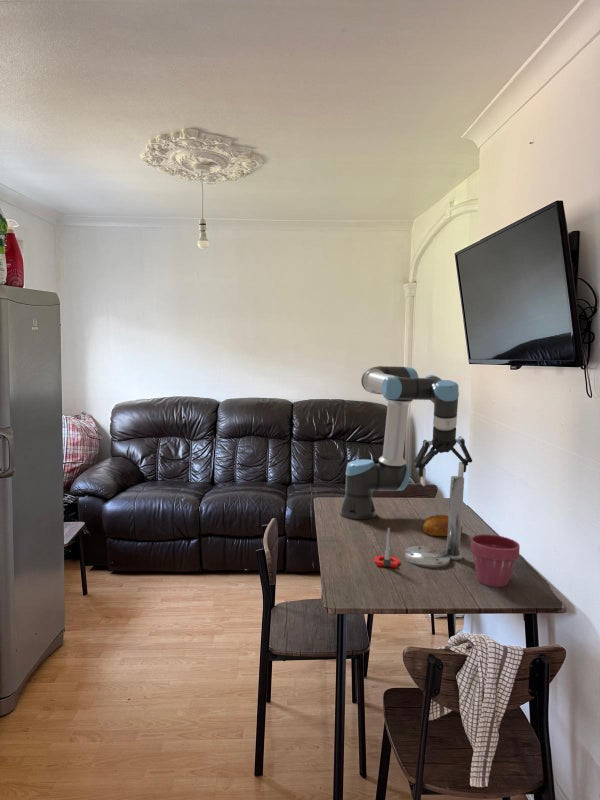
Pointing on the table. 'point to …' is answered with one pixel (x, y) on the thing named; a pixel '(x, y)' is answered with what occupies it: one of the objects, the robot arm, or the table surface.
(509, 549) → the plant pot
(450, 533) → the paper towel holder
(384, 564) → the tow hook
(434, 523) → the croissant
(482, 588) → the table surface
